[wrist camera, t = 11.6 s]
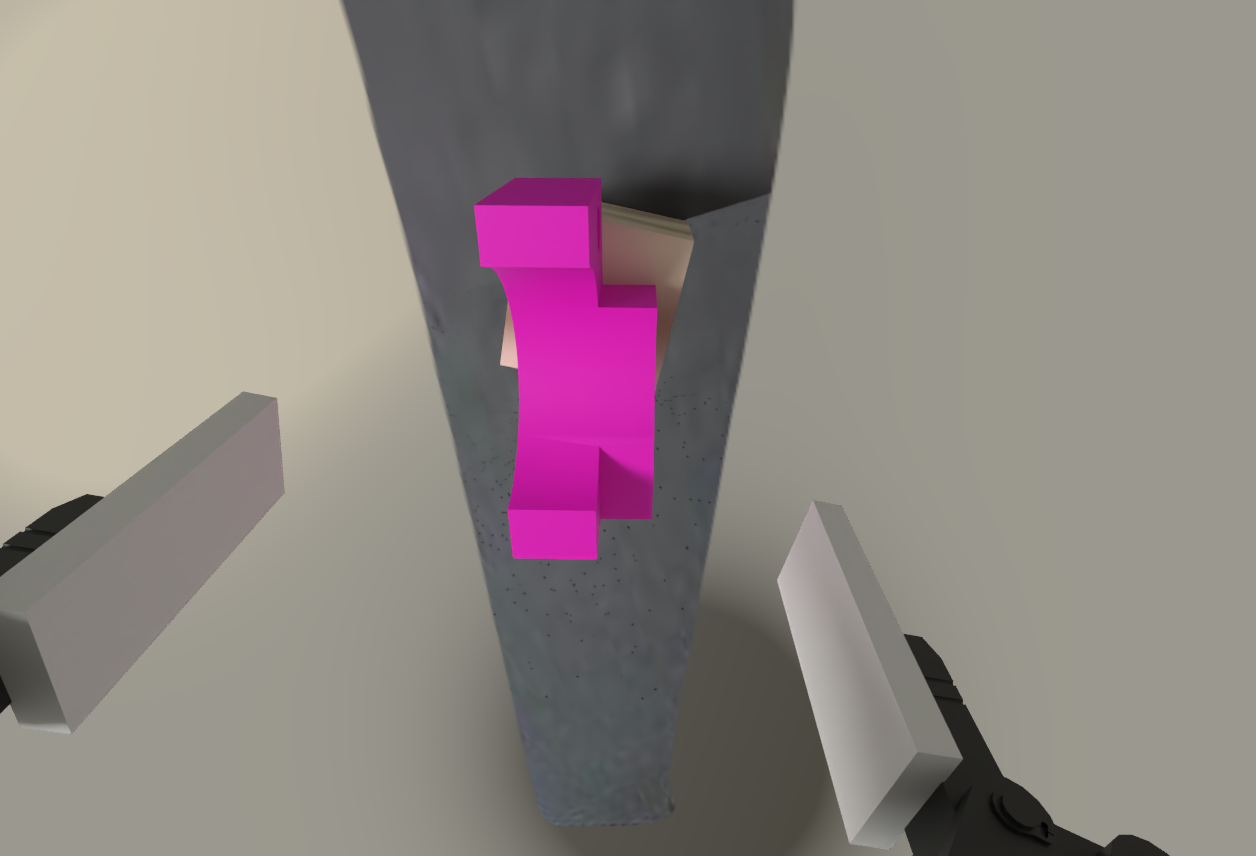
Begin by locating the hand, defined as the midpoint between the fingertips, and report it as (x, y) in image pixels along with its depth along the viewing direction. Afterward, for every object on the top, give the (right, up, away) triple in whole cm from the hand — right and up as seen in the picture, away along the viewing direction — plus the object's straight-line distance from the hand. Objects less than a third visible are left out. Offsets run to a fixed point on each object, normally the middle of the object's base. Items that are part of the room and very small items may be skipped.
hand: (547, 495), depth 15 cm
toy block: (0, +6, +15) cm, 16 cm away
